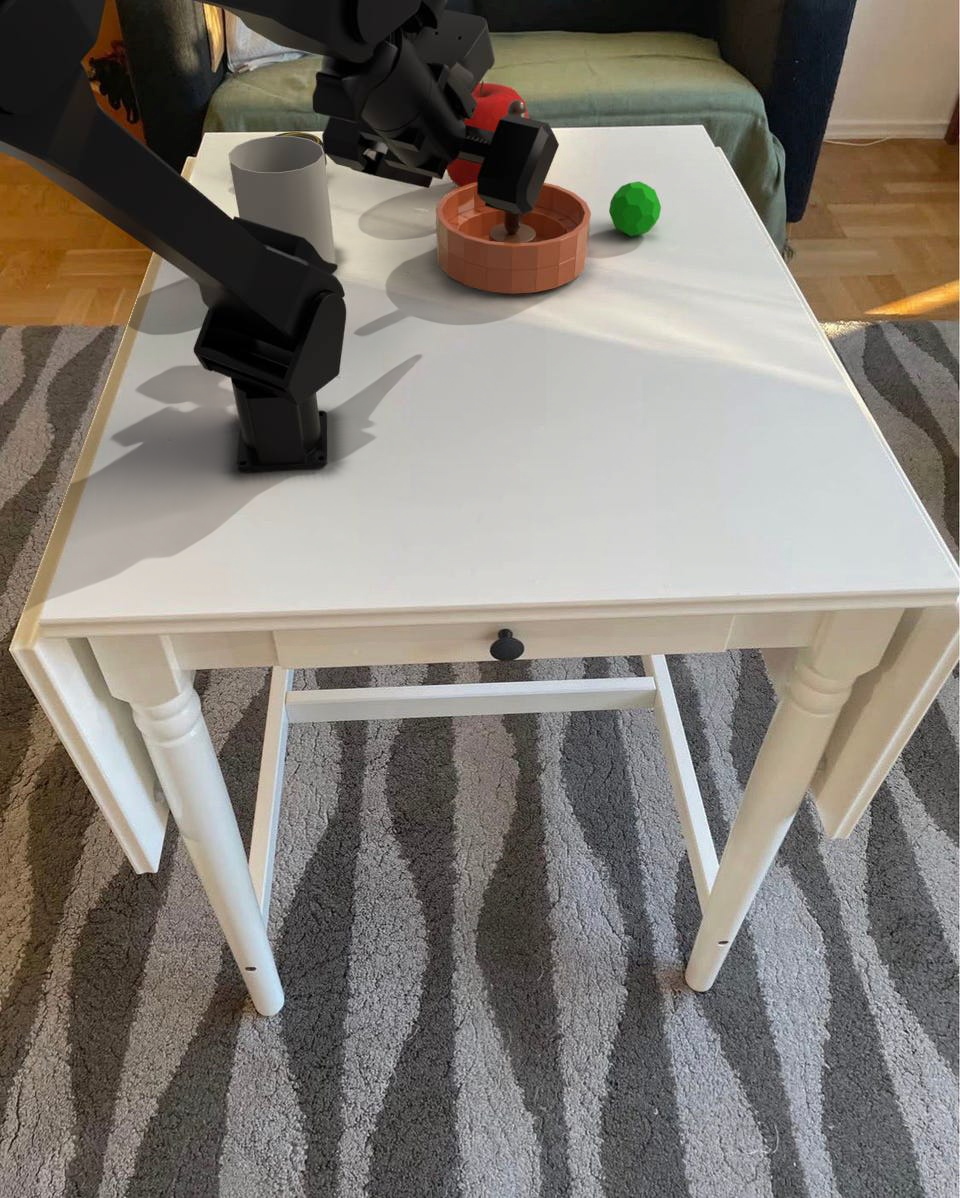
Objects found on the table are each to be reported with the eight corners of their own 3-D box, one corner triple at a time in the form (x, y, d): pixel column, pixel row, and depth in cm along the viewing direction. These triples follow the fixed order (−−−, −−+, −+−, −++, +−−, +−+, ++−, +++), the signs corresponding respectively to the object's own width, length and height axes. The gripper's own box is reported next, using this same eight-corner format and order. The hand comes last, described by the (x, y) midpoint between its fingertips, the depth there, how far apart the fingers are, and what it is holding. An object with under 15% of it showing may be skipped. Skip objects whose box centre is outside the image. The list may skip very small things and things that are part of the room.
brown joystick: (541, 252, 92) (551, 96, 82) (523, 271, 89) (531, 113, 79) (500, 242, 93) (504, 88, 83) (481, 261, 91) (483, 104, 80)
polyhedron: (621, 247, 94) (627, 198, 91) (598, 226, 97) (603, 178, 94) (665, 239, 95) (673, 191, 92) (641, 218, 99) (648, 171, 95)
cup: (318, 287, 88) (305, 177, 81) (234, 277, 89) (213, 168, 82) (345, 246, 93) (335, 140, 86) (266, 237, 95) (249, 132, 87)
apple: (528, 172, 106) (533, 65, 98) (522, 209, 100) (527, 98, 92) (441, 168, 107) (439, 61, 99) (428, 204, 100) (425, 93, 92)
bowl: (598, 294, 87) (604, 242, 84) (444, 302, 86) (444, 249, 83) (570, 225, 97) (574, 176, 94) (431, 231, 96) (430, 181, 92)
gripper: (556, -1, 63) (610, 125, 77) (329, -41, 69) (418, 82, 84) (492, 162, 63) (557, 256, 78) (274, 107, 70) (372, 203, 85)
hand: (474, 194), depth 81 cm, fingers open, 9 cm apart
